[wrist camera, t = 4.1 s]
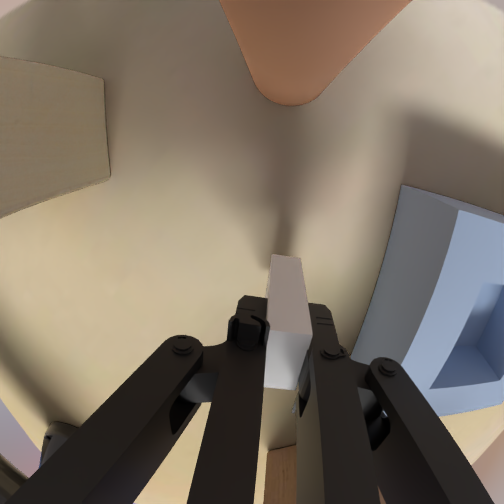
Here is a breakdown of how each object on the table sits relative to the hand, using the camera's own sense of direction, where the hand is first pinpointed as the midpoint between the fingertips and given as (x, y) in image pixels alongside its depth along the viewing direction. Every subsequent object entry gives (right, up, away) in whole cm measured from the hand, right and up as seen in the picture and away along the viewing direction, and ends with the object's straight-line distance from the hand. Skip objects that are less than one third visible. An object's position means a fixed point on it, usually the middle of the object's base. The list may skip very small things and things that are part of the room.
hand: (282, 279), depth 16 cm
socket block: (+12, -1, +1) cm, 12 cm away
